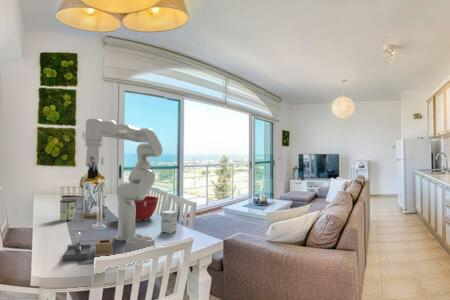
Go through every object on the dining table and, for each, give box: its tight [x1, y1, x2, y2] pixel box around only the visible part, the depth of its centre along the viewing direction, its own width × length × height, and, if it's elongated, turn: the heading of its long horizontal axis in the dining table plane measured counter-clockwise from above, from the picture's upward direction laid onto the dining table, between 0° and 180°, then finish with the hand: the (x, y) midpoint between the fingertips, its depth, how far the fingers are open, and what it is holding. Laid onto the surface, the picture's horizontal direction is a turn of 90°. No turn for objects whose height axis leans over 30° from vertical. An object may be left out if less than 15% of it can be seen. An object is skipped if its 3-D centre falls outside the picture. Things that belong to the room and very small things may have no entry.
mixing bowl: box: [134, 195, 159, 221], centre depth 217 cm, size 28×28×16 cm
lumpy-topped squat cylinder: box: [125, 233, 156, 254], centre depth 144 cm, size 10×13×9 cm
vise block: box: [62, 232, 92, 263], centre depth 139 cm, size 12×10×11 cm
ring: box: [95, 238, 114, 255], centre depth 144 cm, size 7×7×5 cm
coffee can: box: [59, 198, 77, 222], centre depth 213 cm, size 10×10×14 cm
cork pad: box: [93, 248, 114, 258], centre depth 144 cm, size 8×8×1 cm
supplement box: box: [160, 209, 178, 234], centre depth 185 cm, size 7×7×13 cm
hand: (92, 177), depth 147 cm, fingers open, 9 cm apart
